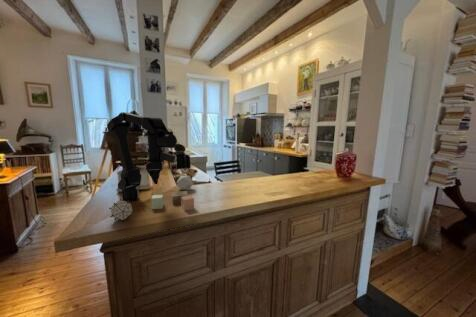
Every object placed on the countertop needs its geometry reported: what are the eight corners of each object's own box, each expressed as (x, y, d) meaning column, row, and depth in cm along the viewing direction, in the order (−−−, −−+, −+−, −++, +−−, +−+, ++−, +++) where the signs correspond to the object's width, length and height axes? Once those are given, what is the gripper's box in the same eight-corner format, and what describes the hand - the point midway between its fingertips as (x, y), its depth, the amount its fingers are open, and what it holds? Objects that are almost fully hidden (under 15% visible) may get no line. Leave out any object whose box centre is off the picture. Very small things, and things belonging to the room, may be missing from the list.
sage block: (151, 209, 89) (151, 198, 88) (153, 205, 93) (152, 195, 93) (162, 208, 90) (162, 197, 90) (163, 204, 95) (162, 194, 94)
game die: (120, 227, 81) (117, 203, 84) (140, 219, 81) (137, 196, 85) (104, 226, 72) (102, 200, 76) (126, 217, 73) (123, 192, 76)
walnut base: (172, 204, 95) (172, 196, 95) (173, 199, 102) (172, 191, 101) (187, 203, 97) (187, 195, 97) (187, 198, 104) (187, 190, 103)
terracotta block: (184, 210, 88) (183, 200, 87) (181, 207, 92) (180, 196, 91) (194, 208, 90) (193, 198, 89) (190, 205, 94) (190, 195, 93)
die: (184, 194, 111) (194, 179, 113) (171, 185, 112) (181, 170, 114) (188, 194, 120) (197, 180, 121) (175, 186, 120) (185, 172, 122)
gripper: (174, 148, 82) (175, 185, 84) (174, 144, 99) (175, 175, 102) (144, 149, 78) (146, 187, 81) (149, 144, 96) (151, 176, 98)
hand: (157, 181), depth 90 cm, fingers open, 9 cm apart
